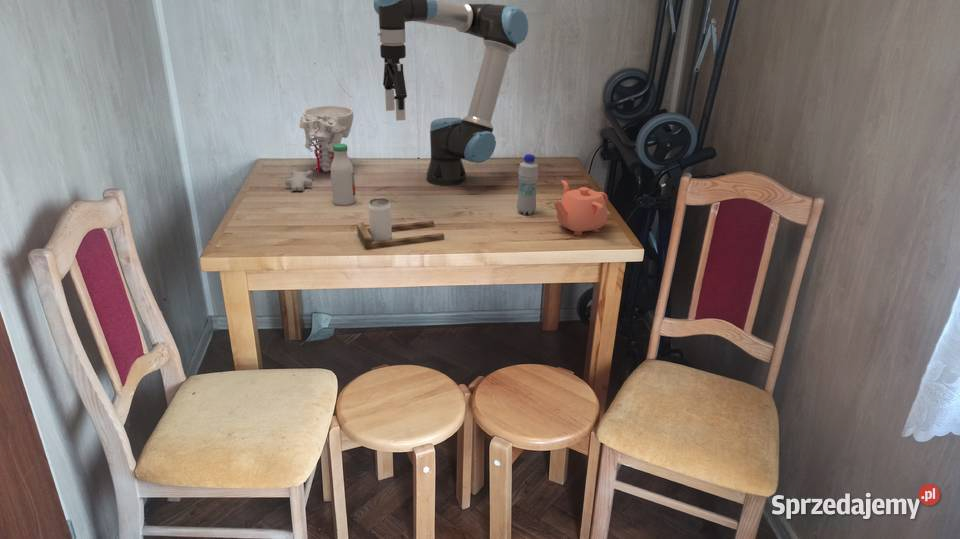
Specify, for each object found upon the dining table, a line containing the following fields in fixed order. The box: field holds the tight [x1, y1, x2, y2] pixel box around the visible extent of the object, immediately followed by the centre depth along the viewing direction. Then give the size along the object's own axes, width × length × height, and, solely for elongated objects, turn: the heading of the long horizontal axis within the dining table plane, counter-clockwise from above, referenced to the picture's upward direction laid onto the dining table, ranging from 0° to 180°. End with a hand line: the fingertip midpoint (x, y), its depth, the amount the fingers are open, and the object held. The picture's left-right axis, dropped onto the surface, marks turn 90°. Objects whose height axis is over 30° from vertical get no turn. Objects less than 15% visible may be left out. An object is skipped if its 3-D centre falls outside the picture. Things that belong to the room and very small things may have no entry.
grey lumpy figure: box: [284, 169, 314, 192], centre depth 234 cm, size 10×5×15 cm
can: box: [367, 197, 393, 242], centre depth 191 cm, size 6×6×12 cm
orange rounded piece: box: [553, 179, 608, 237], centre depth 202 cm, size 16×17×14 cm
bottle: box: [516, 153, 540, 216], centre depth 211 cm, size 7×7×20 cm
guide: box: [356, 220, 445, 250], centre depth 194 cm, size 24×12×4 cm, turn 111°
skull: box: [299, 105, 354, 174], centre depth 245 cm, size 25×19×23 cm
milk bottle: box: [330, 143, 356, 206], centre depth 217 cm, size 8×8×20 cm
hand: (395, 115), depth 201 cm, fingers open, 13 cm apart
